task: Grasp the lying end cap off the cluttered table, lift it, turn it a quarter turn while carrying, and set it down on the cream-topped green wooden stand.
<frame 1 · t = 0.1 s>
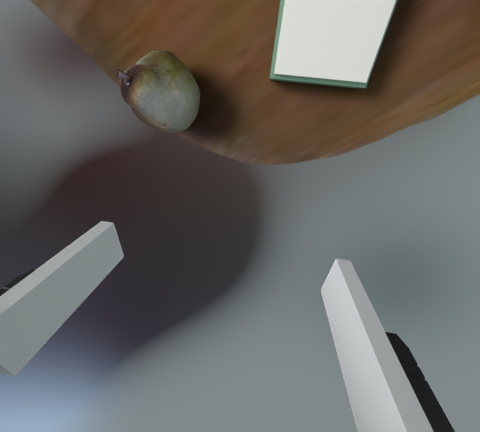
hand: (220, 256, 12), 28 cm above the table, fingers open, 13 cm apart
fruit: (180, 96, 33), on the table
stand: (326, 25, 26), on the table
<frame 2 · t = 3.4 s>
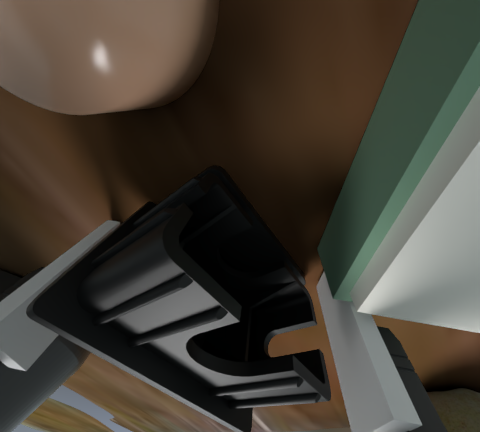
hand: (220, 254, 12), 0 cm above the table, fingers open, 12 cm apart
fruit: (448, 393, 18), on the table
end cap: (221, 249, 12), on the table
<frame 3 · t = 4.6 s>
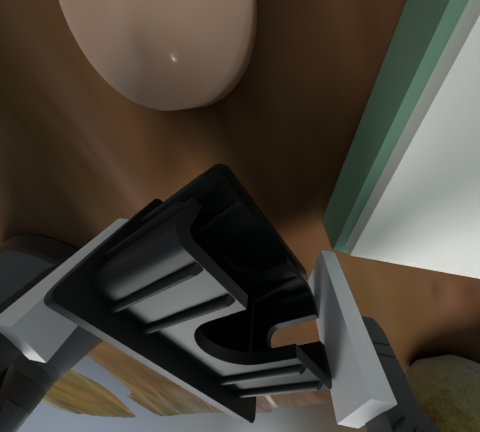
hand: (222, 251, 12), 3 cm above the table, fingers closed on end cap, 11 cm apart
fruit: (439, 362, 20), on the table
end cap: (225, 245, 13), point 3 cm above the table, touching gripper
pinkish tan egg: (186, 26, 10), on the table
when the fingers open (5 cm above the table, at t = 8.8 s): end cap stays where it is, resting on stand.
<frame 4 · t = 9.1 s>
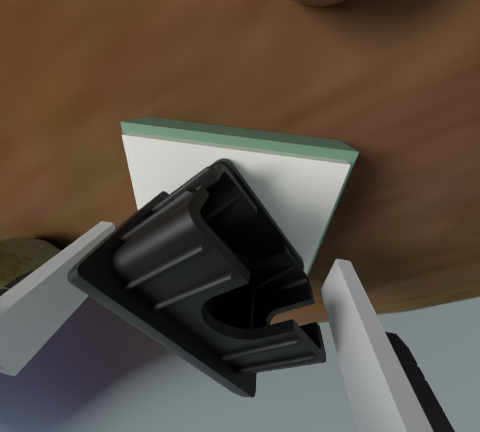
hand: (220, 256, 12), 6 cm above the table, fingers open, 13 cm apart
fruit: (56, 254, 23), on the table
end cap: (227, 237, 13), point 4 cm above the table, touching stand
stand: (234, 210, 17), on the table
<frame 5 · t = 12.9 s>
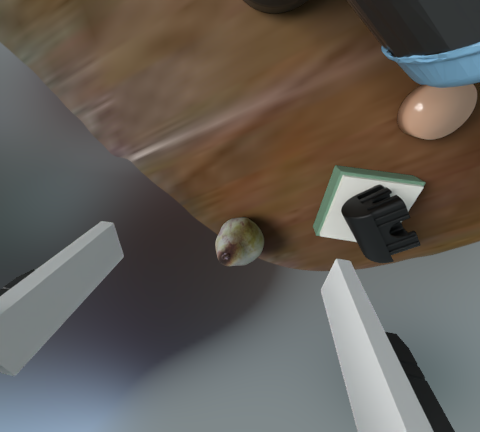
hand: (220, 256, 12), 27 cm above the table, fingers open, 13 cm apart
fruit: (243, 228, 44), on the table
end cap: (366, 213, 34), point 4 cm above the table, touching stand
stand: (357, 203, 37), on the table
pinkish tan egg: (424, 109, 28), on the table
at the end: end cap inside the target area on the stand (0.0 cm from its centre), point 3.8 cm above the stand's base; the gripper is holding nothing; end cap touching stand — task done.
